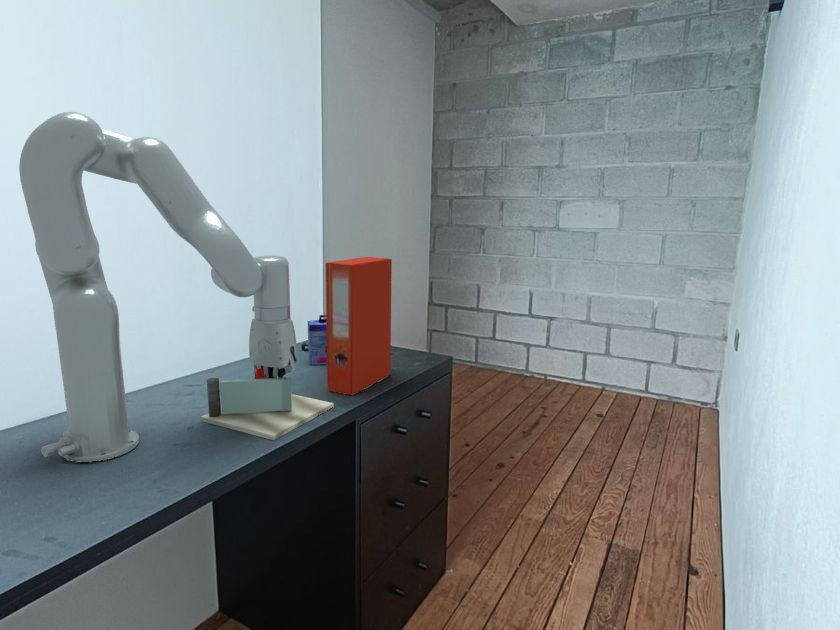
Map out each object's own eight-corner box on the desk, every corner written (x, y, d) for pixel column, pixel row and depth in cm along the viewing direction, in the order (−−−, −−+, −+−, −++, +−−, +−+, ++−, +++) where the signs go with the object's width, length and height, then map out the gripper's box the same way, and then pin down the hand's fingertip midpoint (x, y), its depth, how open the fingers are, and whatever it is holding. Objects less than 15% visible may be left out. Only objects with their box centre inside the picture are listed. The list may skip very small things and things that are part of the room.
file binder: (391, 377, 146) (391, 258, 139) (354, 396, 131) (352, 264, 124) (366, 372, 150) (365, 256, 143) (327, 390, 135) (324, 262, 128)
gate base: (273, 440, 106) (271, 397, 105) (201, 421, 115) (198, 380, 113) (333, 407, 124) (333, 369, 122) (266, 392, 133) (265, 357, 131)
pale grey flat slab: (221, 414, 115) (219, 382, 114) (223, 411, 117) (221, 380, 116) (291, 410, 118) (290, 379, 116) (291, 407, 120) (290, 377, 118)
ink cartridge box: (309, 366, 155) (308, 316, 152) (307, 360, 160) (306, 312, 157) (344, 363, 157) (343, 314, 154) (341, 358, 163) (340, 311, 160)
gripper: (233, 312, 117) (238, 393, 120) (288, 320, 110) (291, 405, 114) (258, 307, 123) (261, 384, 127) (311, 314, 117) (313, 394, 120)
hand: (275, 394), depth 120 cm, fingers closed
